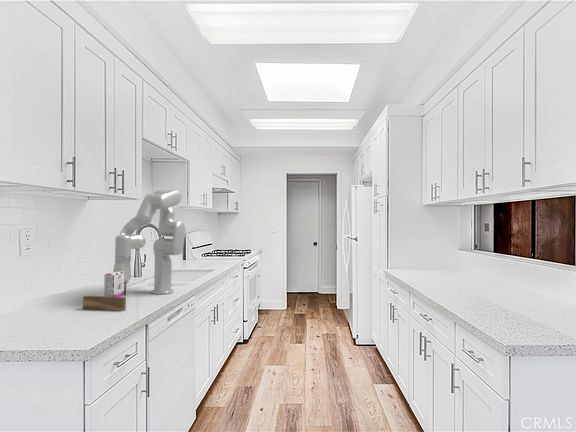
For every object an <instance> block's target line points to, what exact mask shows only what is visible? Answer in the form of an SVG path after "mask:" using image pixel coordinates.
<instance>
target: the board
mask: <svg viewBox="0 0 576 432" xmlns="http://www.w3.org/2000/svg"><path fill="white" fill-rule="evenodd" d="M126 309H127V296H124V297H108V296H104V295H84V296H82V310H96V311H116V312H118V311H119V312H125V311H126Z"/></svg>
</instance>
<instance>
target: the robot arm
mask: <svg viewBox="0 0 576 432" xmlns="http://www.w3.org/2000/svg"><path fill="white" fill-rule="evenodd" d="M182 198H183V197H182V193H181V192H180V191H179V190H177V189H158V190H155V191H154V192H153V193H149V194H146V195H145V196H144V198H143V200H142V203H141V205H140V207H139V209H138V211H137V213H136V215H135V216H134V217H132V219H130V220H129V221H128V222H127V223H126V224H125V225H123V228H122V229H121V231H120V234H119V235H117V236H116V237H115V241H114V242H115V243H114V246H115V247H114V265H113V271H112V272H125V279H124V297H126V294H127V285H128V283H129V281H130V280H131V277H132V276H131V275H132V272H131V271H132V270H131V267H132V266H131V262H132V261H131V260H132V250H139V249H140V250H141V249H143V248H144V247H145V245H146V238H145V237H144V236H142V235H140V234H133V233H135V231H137V230H139V229H141V228H143V227H145V226H147V225H149V224H150V223H152V221H153V219H154V216H155V214H156V212H157V210H159V220H158V229H157V230H158V231H157V232H158V235H160V236H162V237H161V238H158V239H156V240H155V241H154V242H153V245H152V247H153V255H154V274H153V275H154V279H153V282H154V283H153V289H151V291H150V292H151V294H154V295H167V294H172V293H174V291H175V290H174V289H172V286H173V284H172V265H173V263H172V258H171V256H180V255H182V253H183V250H184V245H185V235H186V226H185V224H184V222H183V221H181V220H178V219H177V220H175V215H176V212H175V209H174V207H175V206H177V205H179V204H180V203H181V201H182ZM163 237H171V238H163Z"/></svg>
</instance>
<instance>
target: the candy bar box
mask: <svg viewBox="0 0 576 432" xmlns="http://www.w3.org/2000/svg"><path fill="white" fill-rule="evenodd" d="M124 279H125V272H113V271H112V272H110V273H109V272H108V273H105V274H104V282H103V283H104V295H103V296H108V297H125V296H124Z"/></svg>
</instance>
